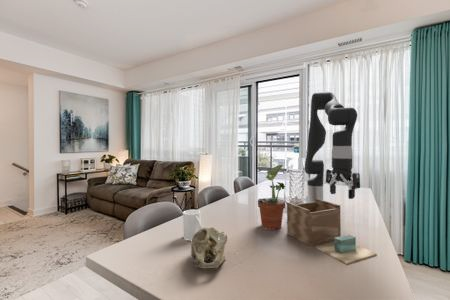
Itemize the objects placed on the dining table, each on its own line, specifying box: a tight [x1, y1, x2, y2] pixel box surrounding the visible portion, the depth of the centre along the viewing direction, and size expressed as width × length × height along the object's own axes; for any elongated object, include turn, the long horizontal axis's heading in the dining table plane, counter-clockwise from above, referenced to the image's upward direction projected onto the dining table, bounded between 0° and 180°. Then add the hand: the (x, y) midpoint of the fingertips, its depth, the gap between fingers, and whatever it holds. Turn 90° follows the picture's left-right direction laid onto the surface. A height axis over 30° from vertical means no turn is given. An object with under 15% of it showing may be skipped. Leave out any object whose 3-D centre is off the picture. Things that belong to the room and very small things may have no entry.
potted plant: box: [257, 164, 286, 231], centre depth 116 cm, size 16×15×35 cm
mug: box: [182, 209, 202, 240], centre depth 102 cm, size 12×8×12 cm
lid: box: [315, 234, 378, 265], centre depth 87 cm, size 14×16×6 cm
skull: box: [190, 226, 228, 269], centre depth 81 cm, size 11×20×15 cm
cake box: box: [286, 199, 342, 246], centre depth 103 cm, size 14×19×15 cm
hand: (341, 196), depth 91 cm, fingers open, 8 cm apart
